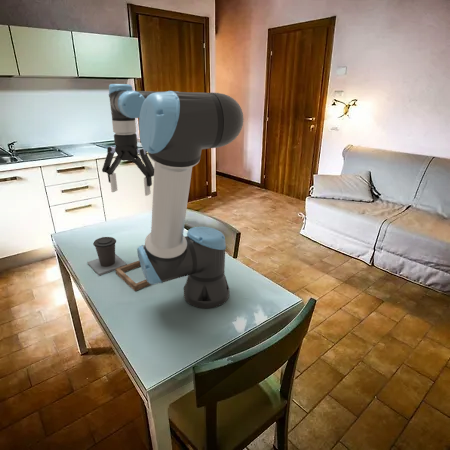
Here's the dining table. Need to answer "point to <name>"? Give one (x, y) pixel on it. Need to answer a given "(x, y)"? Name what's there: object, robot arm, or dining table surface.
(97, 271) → the pad
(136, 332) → the dining table surface
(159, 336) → the dining table surface
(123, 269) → the wooden square frame
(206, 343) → the dining table surface
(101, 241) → the coffee cup
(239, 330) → the dining table surface
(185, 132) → the robot arm
